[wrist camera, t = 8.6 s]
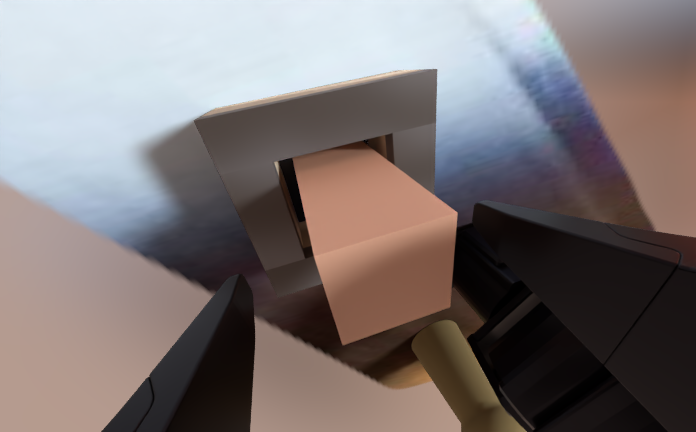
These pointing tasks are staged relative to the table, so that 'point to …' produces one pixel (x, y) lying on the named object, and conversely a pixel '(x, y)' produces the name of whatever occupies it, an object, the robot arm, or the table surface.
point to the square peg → (375, 239)
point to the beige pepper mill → (461, 379)
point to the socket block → (311, 136)
